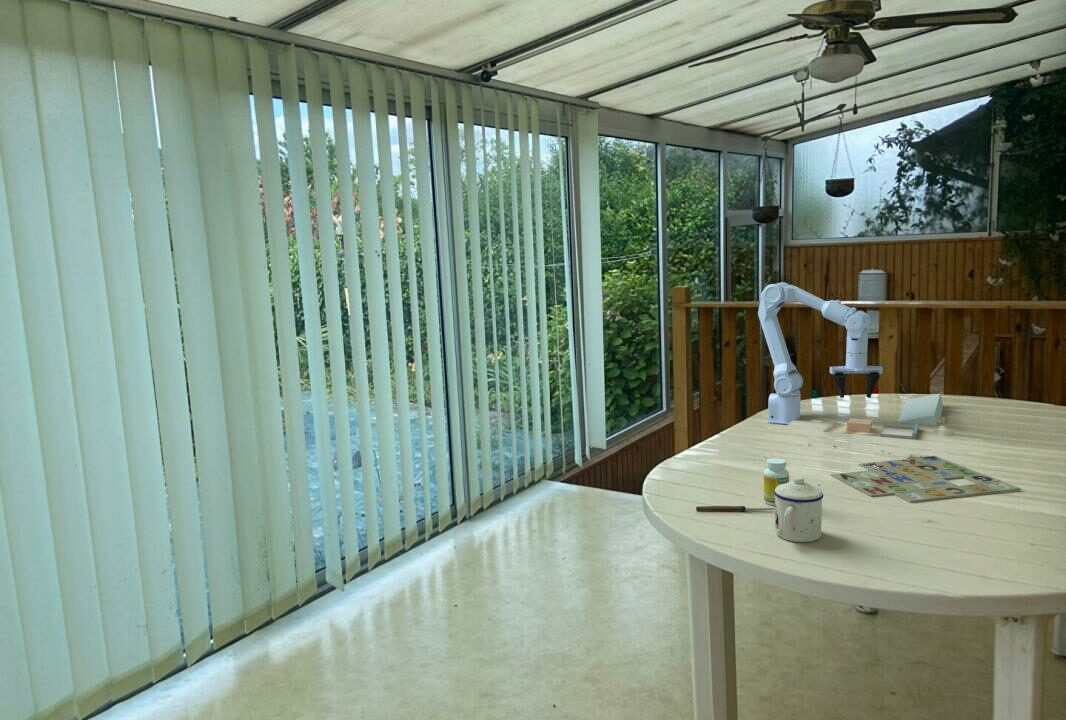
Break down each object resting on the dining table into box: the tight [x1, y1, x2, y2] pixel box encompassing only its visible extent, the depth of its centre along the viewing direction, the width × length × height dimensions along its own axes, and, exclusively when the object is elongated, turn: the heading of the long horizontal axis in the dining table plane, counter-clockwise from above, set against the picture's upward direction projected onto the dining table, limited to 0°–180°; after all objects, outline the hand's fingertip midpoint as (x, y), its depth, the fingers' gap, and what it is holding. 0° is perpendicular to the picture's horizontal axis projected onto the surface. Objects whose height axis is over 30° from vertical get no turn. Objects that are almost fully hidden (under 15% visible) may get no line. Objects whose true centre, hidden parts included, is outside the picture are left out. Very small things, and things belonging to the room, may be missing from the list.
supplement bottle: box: [763, 457, 790, 507], centre depth 165 cm, size 5×5×10 cm
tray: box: [879, 424, 920, 441], centre depth 212 cm, size 9×12×3 cm
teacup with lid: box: [774, 476, 824, 543], centre depth 145 cm, size 12×9×12 cm
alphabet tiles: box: [830, 455, 1022, 504], centre depth 177 cm, size 33×28×1 cm
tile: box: [846, 417, 873, 433], centre depth 217 cm, size 6×6×2 cm
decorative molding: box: [897, 393, 944, 426], centre depth 235 cm, size 34×5×10 cm
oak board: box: [823, 422, 885, 437], centre depth 218 cm, size 15×12×2 cm
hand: (855, 397), depth 222 cm, fingers open, 7 cm apart
